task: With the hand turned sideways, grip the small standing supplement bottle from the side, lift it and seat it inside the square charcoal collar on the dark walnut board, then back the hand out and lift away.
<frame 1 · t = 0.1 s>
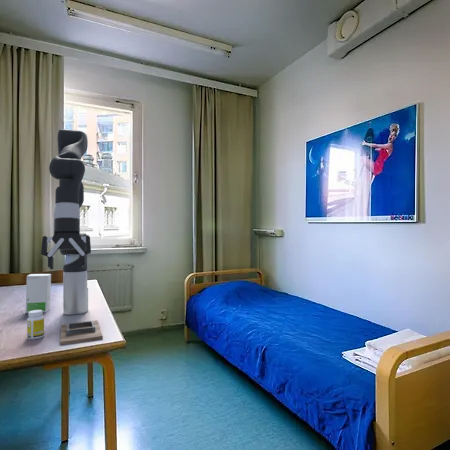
hand: (66, 268, 106), 22 cm above the table, tool pointing down, fingers open, 8 cm apart
skincare box: (38, 311, 142), on the table
seat board: (80, 332, 112), on the table
supplement bottle: (35, 337, 108), on the table
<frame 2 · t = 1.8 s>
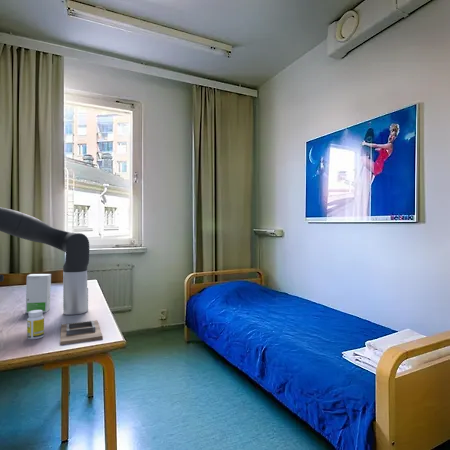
nothing on the table moved.
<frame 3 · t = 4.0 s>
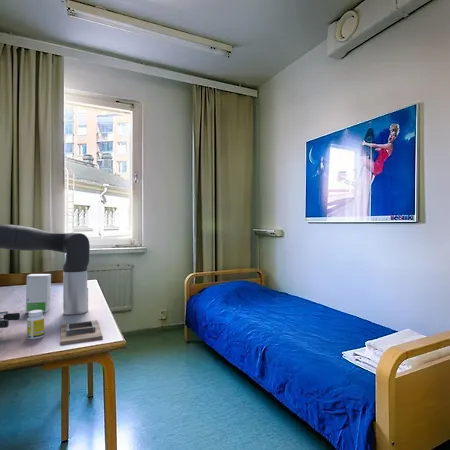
hand: (14, 319, 106), 6 cm above the table, tool horizontal, fingers open, 8 cm apart
nothing on the table moved.
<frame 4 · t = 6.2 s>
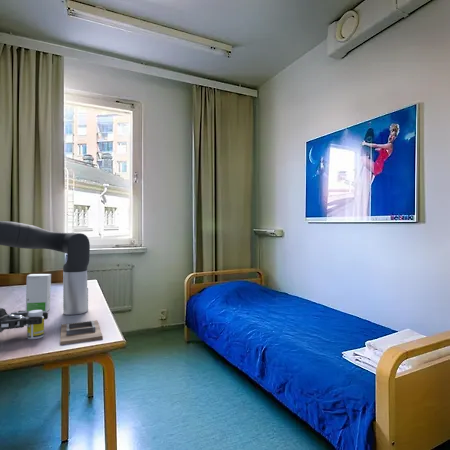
hand: (44, 317, 108), 6 cm above the table, tool horizontal, fingers closed on supplement bottle, 4 cm apart
supplement bottle: (35, 337, 108), on the table, touching gripper
everything else where it was.
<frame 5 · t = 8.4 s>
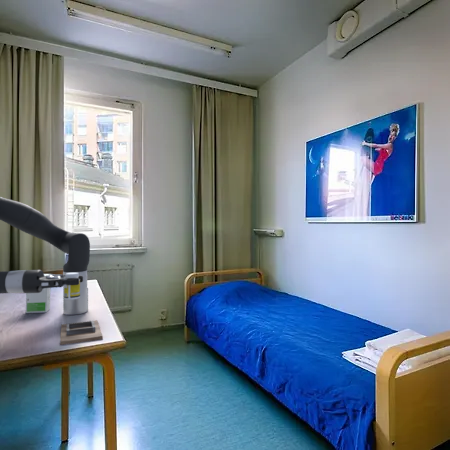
hand: (80, 280, 112), 18 cm above the table, tool horizontal, fingers closed on supplement bottle, 4 cm apart
supplement bottle: (72, 299, 111), point 11 cm above the table, touching gripper
everything else where it was.
when the fingers open (8 cm above the table, at t = 10.9 s): supplement bottle stays where it is, resting on seat board.
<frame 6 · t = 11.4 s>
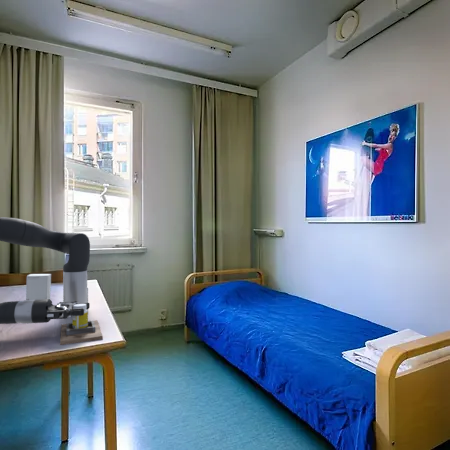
hand: (86, 308, 112), 8 cm above the table, tool horizontal, fingers open, 8 cm apart
supplement bottle: (80, 330, 112), point 1 cm above the table, touching seat board
everything else where it was.
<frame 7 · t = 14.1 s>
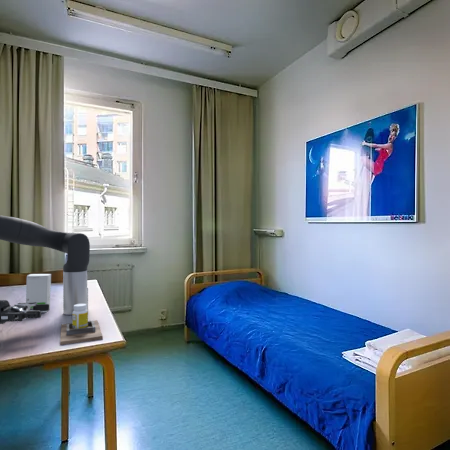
hand: (44, 310, 110), 8 cm above the table, tool horizontal, fingers open, 8 cm apart
nothing on the table moved.
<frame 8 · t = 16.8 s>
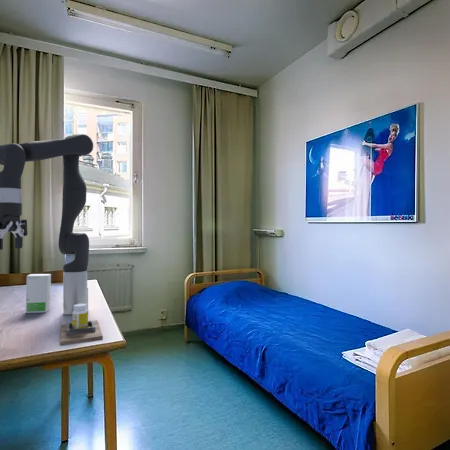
hand: (9, 249, 115), 28 cm above the table, tool pointing down, fingers open, 8 cm apart
nothing on the table moved.
at the end: supplement bottle 0.2 cm off-centre on the seat board, point 0.8 cm above the seat board's base; supplement bottle tilted 0°; the gripper is holding nothing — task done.
